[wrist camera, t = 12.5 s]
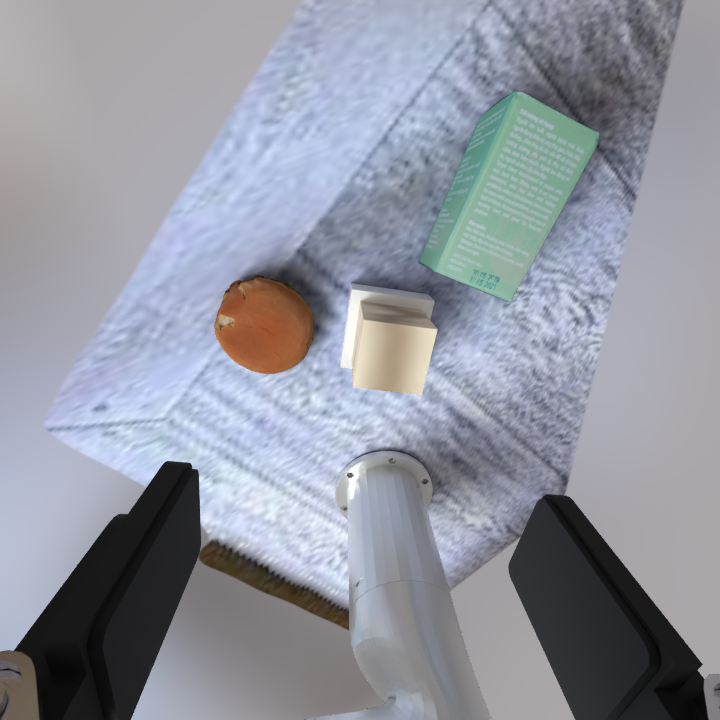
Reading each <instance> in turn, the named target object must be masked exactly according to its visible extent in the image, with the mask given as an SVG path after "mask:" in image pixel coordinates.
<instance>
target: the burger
mask: <svg viewBox="0 0 720 720" xmlns="http://www.w3.org/2000/svg"><path fill="white" fill-rule="evenodd" d="M214 327H215V335H216V338H217V340H218V341H219V343H220V345H221V346H222V348H223V350H224V351H225V352H226V353H227V354H228V355H229V356H230V358H231V359H232V360H234V361H235V362H236V363H238V364H239V365H241V366H243V367H245V368H247V369H249V370H251V371H255V372H259V373H263V374H275V373H279V372H283V371H286V370H289V369H291V368H293V367H294V366H296V365H297V364H299V363H300V362H301V361H302V360H303V359H304V358H305V356H306V354H307V352H308V349H309V346H310V344H311V342H312V341H313V328H314V321H313V315H312V312H311V310H310V308H309V306H308V305H307V303H306V302H305V301H304V299H303V298H301V296H300V295H299V294H297V292H296V291H295V290H294V289H293V288H292V287H291V286H290V285H288V284H286V283H284V282H278V281H275V280H273V279H268V278H265V277H263V276H256V275H255V276H254V277H253V278H252V279H251V280H248V281H244V282H243V281H242V280H238V281H235V282H233V283H232V284H231V285H230V288H229V289H228V290H226V292H225V294H224V297H223V300H222V304H221V307H220V309H219V311H218V314H217V318H216V322H215V326H214Z"/></svg>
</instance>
